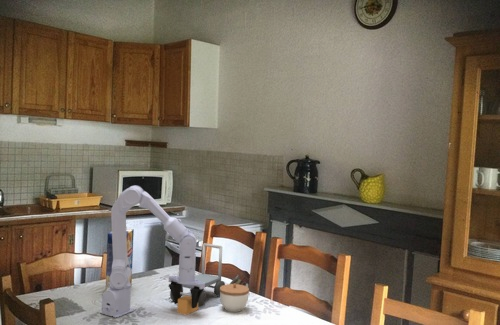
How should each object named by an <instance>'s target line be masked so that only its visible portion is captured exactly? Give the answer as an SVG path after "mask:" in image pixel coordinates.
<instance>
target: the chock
mask: <svg viewBox="0 0 500 325" xmlns="http://www.w3.org/2000/svg"><path fill="white" fill-rule="evenodd" d="M191 304H192V298H191V297H190V296H186V295H183V296H181V298H179V299H178V303H177V313H178V314H181V315H186V316H187V315H189V314H191V313H194V312H196V311H197V310H199V306H198V304H197V307H196V308H192V306H191Z"/></svg>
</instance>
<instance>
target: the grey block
mask: <svg viewBox="0 0 500 325" xmlns="http://www.w3.org/2000/svg"><path fill="white" fill-rule="evenodd" d="M234 283H235V284H239V285H244V286H246V287H248V288H249V284H248V283H247V282H246V281H243V279H240V274H239V273H238V274H237V275H236V277H234V278H233V279H232V280H231V282H229V284H234Z"/></svg>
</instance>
